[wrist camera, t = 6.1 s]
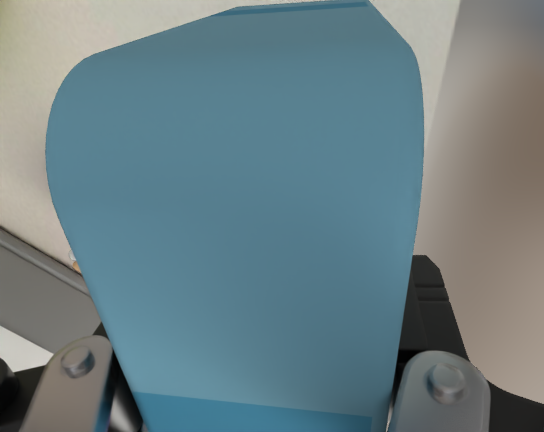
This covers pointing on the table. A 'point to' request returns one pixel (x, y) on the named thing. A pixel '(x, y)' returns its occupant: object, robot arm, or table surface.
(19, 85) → the table surface
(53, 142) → the blue rounded block
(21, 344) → the laptop
